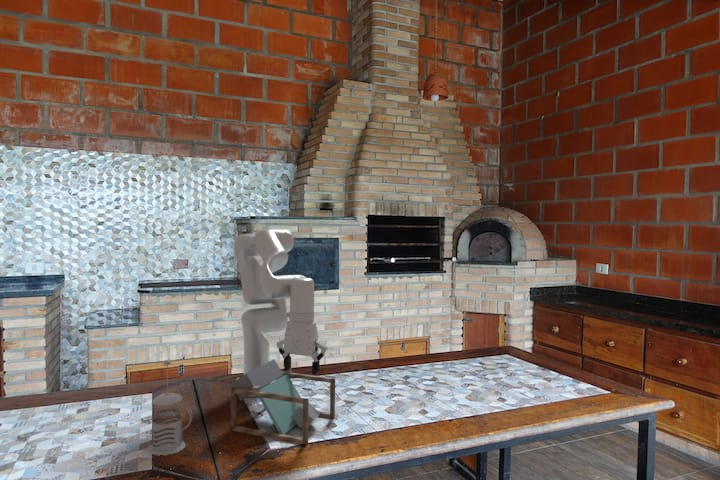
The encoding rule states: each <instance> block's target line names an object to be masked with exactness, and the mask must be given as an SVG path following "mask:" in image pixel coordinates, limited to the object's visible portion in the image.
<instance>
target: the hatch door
mask: <svg viewBox="0 0 720 480" xmlns="http://www.w3.org/2000/svg"><path fill="white" fill-rule="evenodd" d="M282 375H283V373H282V370H281V368H280V366H279V365H278V362H277V361H276V359H275V358H273V359H271V360H269V362H267V363H265V364H263V365H261V366H260V367H258V368H256V369H254V370H252V371H250V372H248V373H246V374H244V373H243V375H242V376H240V377H239V379H237V378H236V379H237V380H235V381H233V382H232V383H230V384H231V386H232V388H240V389H246V390H253V387H254V386H260V392H266V393H273V394H279V395H286V396H293V397H299V398H302V397H301V395H300V394H299V391H298V390H297V388H296V386H295V385H294V383H293V381H292V379H291V377H289V376H288V375H287V374H286V375H284V376H282ZM268 384H269V385H268ZM266 385H267V386H266ZM263 387H264V388H263ZM261 388H262V389H261ZM248 396H249V395H243V394H237V398H238V399H239V401H240V402H241V401H243V400H244V399H246V398H249V397H248ZM258 398H259V400H260V402H261V404H262V405H263V407H264V409H265V411H266V413H267V415H268V416H269V418H270V419H271V421H272V423H273V425H274V426H275V428H276V430H277V432H278V434H284V435H286V434H287V433H288V432H289V431H290V430H291V429H293V428H294V427H295V426H296V425H298V424H297V423H296V422H295V421H294V420H293V419H292V418H291V417H292V415H293V414H294V413H295V411H296V410H297V409H298V407H299V406H300V405H301V403H294V402H288V401H281V400H275V399H269V398H262V397H258Z"/></svg>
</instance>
